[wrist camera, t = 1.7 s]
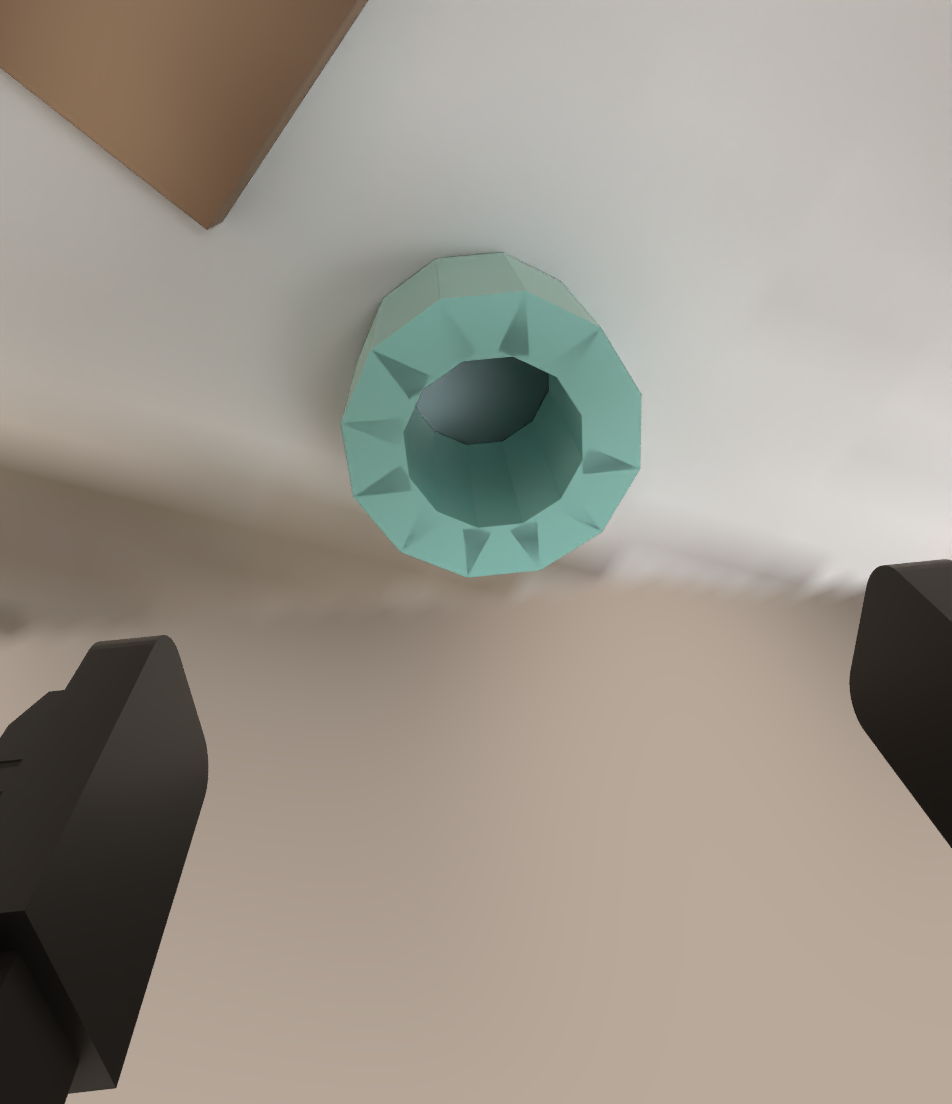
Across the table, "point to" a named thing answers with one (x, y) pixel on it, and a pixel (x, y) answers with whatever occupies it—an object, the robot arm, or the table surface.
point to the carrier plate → (176, 81)
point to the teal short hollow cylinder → (497, 467)
